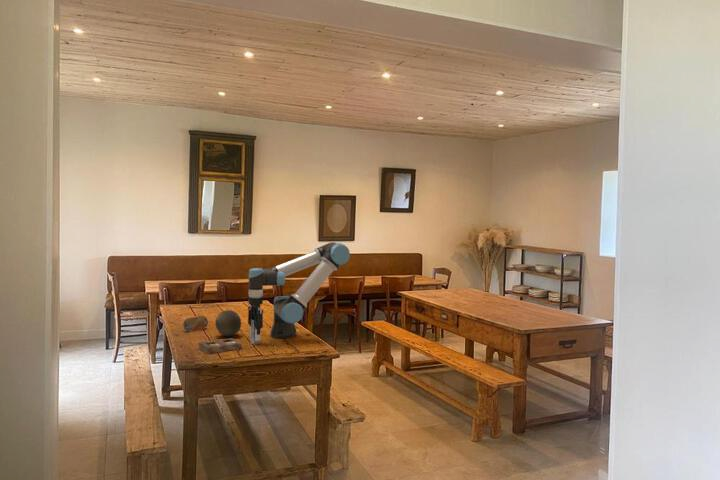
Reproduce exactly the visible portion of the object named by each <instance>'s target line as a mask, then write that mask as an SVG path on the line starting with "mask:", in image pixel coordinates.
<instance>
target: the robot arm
mask: <svg viewBox="0 0 720 480" xmlns="http://www.w3.org/2000/svg"><path fill="white" fill-rule="evenodd" d="M350 252H351V251H350V249H349V248H348V246H346V244H343V243H340V242H339V243H338V242H335V241H333V242H328V243H326V244H324V245H321V246H319V247H316V248H314V250H313V251H310V252H309V253H307V254H303V255H301V256H298V257H295V258H294V259H290V260H288V261H285V262H283V263H281V264H278V265H275V266H272V267H271V268H265V269H263V268H262V267H260V268H259V267H256V268H255V267H254V268H250V269H249V271H248V292H247V293H248V305H250V306H247V309H248V311H247V312H248V313H247V314H248V315H247V324H248V325H249V339H251V319H255V322H256V328H255V341H258V340H259V341H261V329H263V328H264V326H263V325H264V317H263V316H264V315H263V313H264V309H261V305H262V304H263V303H264V301H263V300H264V299H263V297H264V295H263V294H264V286H265V287H266V286H268V287H269V286H278V287H279V286H283V285H284V284H285V283H286V277H288V276H290V275H292V274H295V273H297V272H300V271H302V270H304V269H307V268H310V267H312V266H315V265H317V264H318V265H317V266H316V268H315V269H314V270H313V271H312V272H311V274H310V275H308V277H307V278H306V280H304V282H303V284H301V286H300V287H299V288H298V289H297V291H296V292H295V293H292V294H290V295H283V296H275V297H274V299H273V323H272V326H271V330H270V334H269V335H270V337H272V338H276V339H291V338H295V337H297V334H298V333H297V328H296V325H295V324H296V323H299V321H301V320H302V318H303V316H304V312H305V310H306V309H307V308H308V306H307V304H308V302H310V300H311V299H312V298H313V297H314V295H315V294H316V293H317V291H318V290H319V289H320V288H321V287H322V285H323V284H324V282H325V281H326V280H327V279H328V278H329V277H330V276H331V274H332V273H333V272H334V271H337V270H339V269H340V268H341V266H342V265H345V264H346V263H348V262H349V260H350V256H351V253H350Z"/></svg>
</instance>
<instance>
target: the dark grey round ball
mask: <svg viewBox="0 0 720 480" xmlns="http://www.w3.org/2000/svg"><path fill="white" fill-rule="evenodd" d="M215 327H216V330H217V332H218V333H220V334H221V335H222V336H224V337H232V336H233V337H234V336H235V335H236V334H238V332H239V331H240V330H241V327H242V320H241V318H240V315H239V313H237V312H236V311H234V310H231V309H229V310H228V309H227V310H223V311H221V312H219V313H218V314H217V316H216V317H215Z"/></svg>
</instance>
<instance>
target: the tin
mask: <svg viewBox="0 0 720 480" xmlns="http://www.w3.org/2000/svg"><path fill="white" fill-rule="evenodd" d="M208 321H209V320H208V318H207V317H206V316H204V315H197V316H191V317H187V318H186V319H184V321H183V324H182V326H183V329H184V330H185V331H187V332H191V333H192V332H196V331H204V330H205V329H206V328H207V327H208Z"/></svg>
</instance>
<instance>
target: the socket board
mask: <svg viewBox="0 0 720 480" xmlns="http://www.w3.org/2000/svg"><path fill="white" fill-rule="evenodd" d="M242 348H243V344H242V342H240V341H238V340H236V339H235V338H232V337H230V338H223V339H215V340H208V341H200V342H198V349H200V350H201V351H203V352H204V353H205V354H207V355H208V354H209V355H210V354H216V353H222V352H230V351H236V350H237V351H239V350H242Z"/></svg>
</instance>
